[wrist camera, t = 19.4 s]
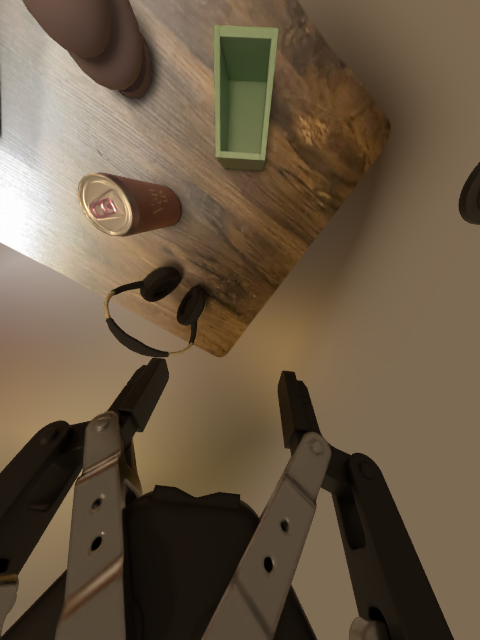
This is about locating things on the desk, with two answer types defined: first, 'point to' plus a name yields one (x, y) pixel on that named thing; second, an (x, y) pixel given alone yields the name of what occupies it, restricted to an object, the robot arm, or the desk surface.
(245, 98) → the green open-top box
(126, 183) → the beverage can
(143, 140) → the desk surface
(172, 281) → the headphones
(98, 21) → the cat figurine
